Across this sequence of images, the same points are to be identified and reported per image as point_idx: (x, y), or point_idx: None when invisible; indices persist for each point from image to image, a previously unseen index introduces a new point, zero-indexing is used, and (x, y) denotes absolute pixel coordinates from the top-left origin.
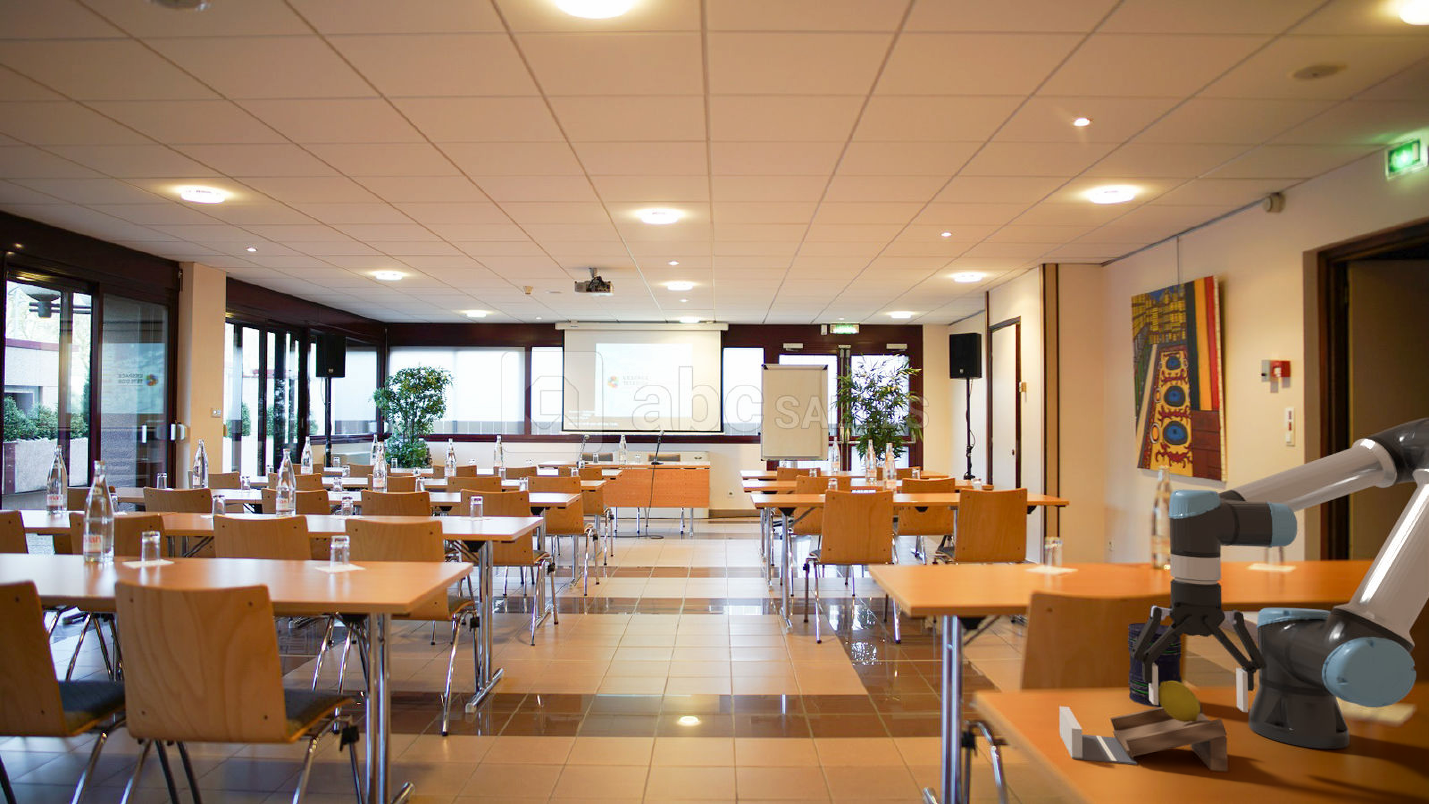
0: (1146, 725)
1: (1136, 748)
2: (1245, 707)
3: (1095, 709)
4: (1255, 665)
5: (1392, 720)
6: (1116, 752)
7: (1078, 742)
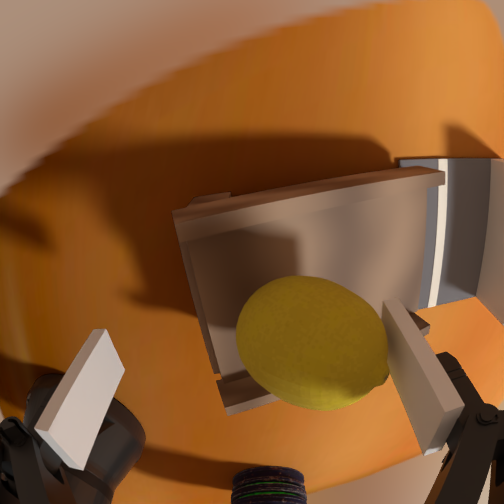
0: None
1: (415, 169)
2: (94, 337)
3: (376, 431)
4: (8, 452)
5: None
6: (427, 218)
7: None
